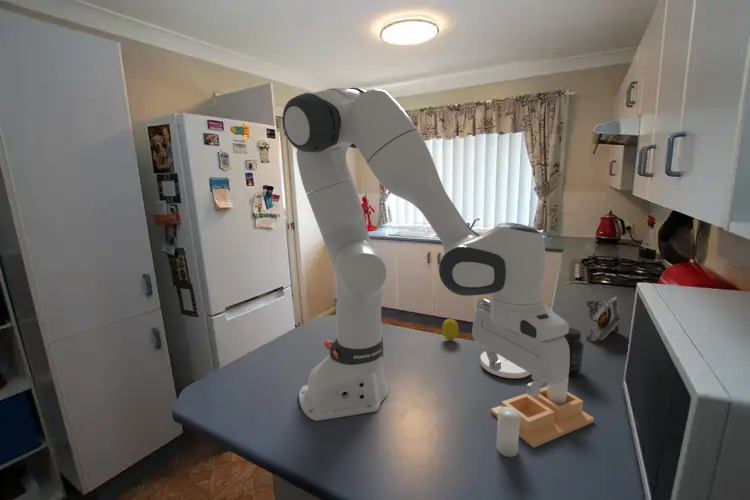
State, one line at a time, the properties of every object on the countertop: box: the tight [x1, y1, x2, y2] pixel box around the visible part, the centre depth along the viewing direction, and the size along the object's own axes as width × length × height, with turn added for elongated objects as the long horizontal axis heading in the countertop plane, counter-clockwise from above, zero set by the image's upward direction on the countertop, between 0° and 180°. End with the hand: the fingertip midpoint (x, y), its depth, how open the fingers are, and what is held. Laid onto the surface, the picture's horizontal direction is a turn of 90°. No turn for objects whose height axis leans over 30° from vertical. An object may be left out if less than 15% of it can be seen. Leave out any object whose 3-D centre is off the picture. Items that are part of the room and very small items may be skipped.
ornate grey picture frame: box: [585, 295, 621, 341], centre depth 118 cm, size 15×4×13 cm, turn 120°
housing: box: [490, 376, 595, 449], centre depth 77 cm, size 18×12×9 cm, turn 114°
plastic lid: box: [479, 351, 531, 379], centre depth 99 cm, size 14×14×2 cm
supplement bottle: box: [563, 327, 585, 378], centre depth 96 cm, size 7×7×12 cm
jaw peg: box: [495, 407, 520, 458], centre depth 68 cm, size 4×4×8 cm
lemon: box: [441, 317, 460, 342], centre depth 116 cm, size 6×6×8 cm
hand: (512, 380), depth 66 cm, fingers open, 8 cm apart
